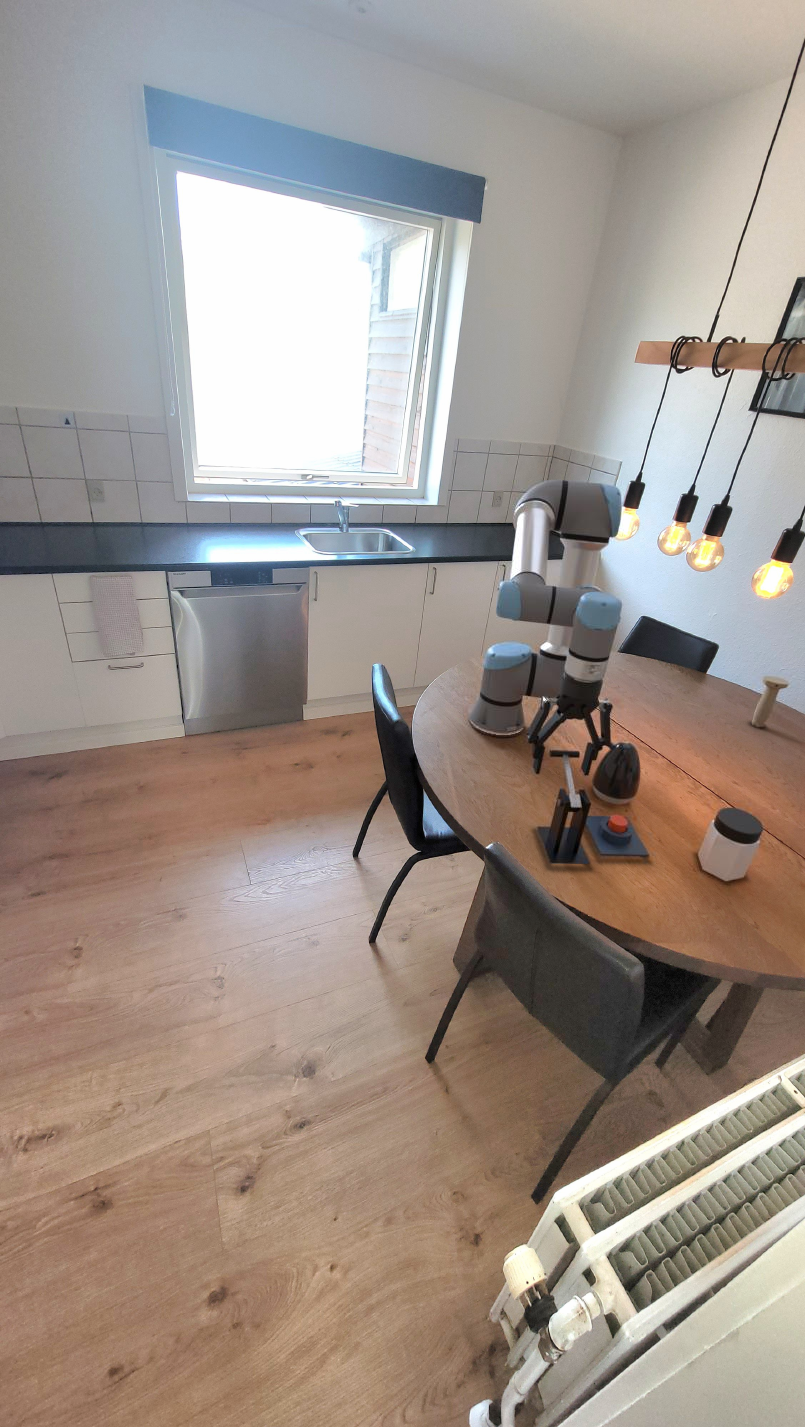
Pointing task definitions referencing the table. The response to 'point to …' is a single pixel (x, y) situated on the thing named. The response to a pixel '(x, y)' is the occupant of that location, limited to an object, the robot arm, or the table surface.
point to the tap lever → (569, 776)
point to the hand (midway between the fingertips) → (560, 771)
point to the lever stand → (566, 831)
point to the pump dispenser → (618, 774)
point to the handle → (768, 699)
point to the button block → (614, 838)
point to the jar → (730, 844)
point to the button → (618, 823)
